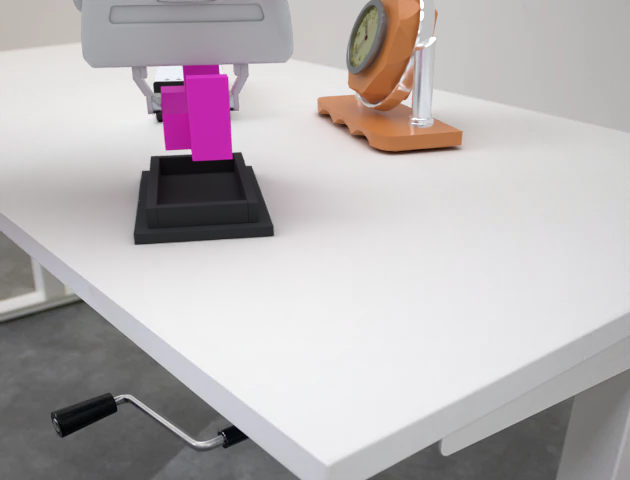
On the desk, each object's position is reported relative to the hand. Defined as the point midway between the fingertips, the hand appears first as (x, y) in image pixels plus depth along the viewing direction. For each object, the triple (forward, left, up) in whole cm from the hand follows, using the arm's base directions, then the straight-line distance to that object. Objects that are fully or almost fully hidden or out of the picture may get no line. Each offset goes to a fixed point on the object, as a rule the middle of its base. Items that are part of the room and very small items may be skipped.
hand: (194, 111), depth 77 cm
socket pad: (0, 0, -10) cm, 10 cm away
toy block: (0, 0, -3) cm, 3 cm away
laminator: (+1, +59, -10) cm, 60 cm away
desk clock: (+28, +32, -10) cm, 44 cm away
